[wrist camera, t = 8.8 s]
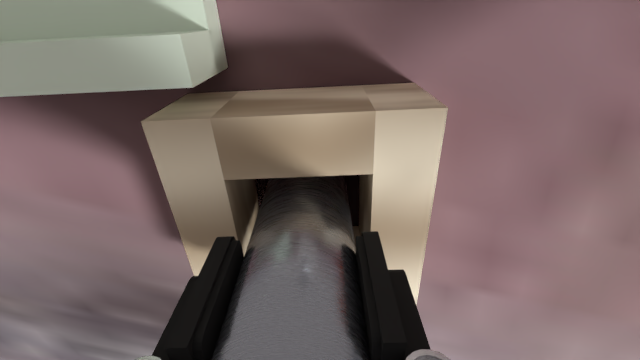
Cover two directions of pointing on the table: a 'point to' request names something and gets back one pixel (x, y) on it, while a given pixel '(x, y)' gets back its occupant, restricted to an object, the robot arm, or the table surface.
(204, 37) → the tray
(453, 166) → the table surface
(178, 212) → the socket
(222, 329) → the grey round peg
